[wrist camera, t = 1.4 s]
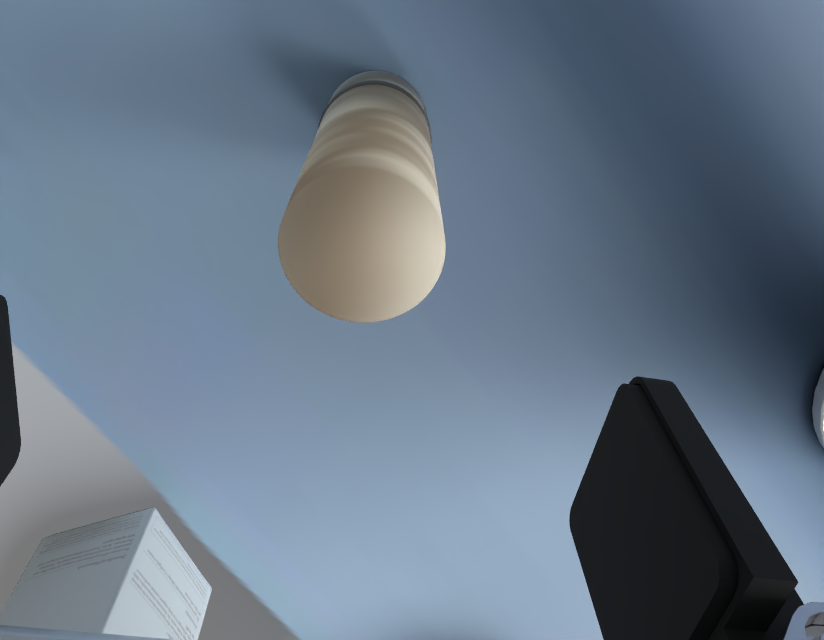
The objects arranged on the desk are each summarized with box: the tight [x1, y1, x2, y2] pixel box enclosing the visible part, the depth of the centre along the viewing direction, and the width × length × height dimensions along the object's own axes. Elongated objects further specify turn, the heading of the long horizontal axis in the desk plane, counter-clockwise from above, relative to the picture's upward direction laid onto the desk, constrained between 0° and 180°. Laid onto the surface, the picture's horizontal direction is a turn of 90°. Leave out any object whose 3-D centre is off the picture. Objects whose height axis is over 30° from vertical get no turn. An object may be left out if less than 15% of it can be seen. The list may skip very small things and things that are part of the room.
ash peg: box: [278, 71, 446, 323], centre depth 23 cm, size 4×4×14 cm
